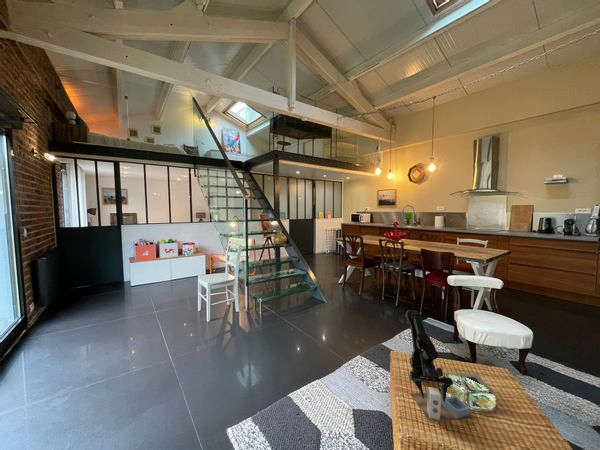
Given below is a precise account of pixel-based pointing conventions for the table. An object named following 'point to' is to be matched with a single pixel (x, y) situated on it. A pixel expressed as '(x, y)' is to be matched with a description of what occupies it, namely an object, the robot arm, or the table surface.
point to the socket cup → (456, 407)
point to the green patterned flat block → (474, 378)
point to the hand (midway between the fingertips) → (433, 400)
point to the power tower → (433, 403)
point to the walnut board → (444, 413)
